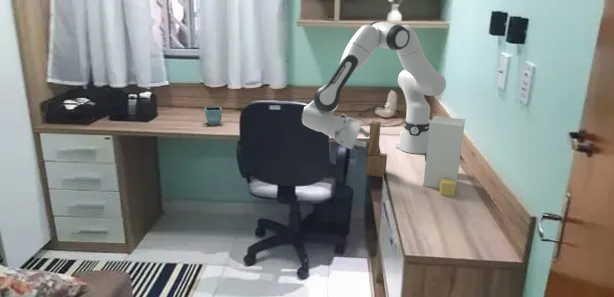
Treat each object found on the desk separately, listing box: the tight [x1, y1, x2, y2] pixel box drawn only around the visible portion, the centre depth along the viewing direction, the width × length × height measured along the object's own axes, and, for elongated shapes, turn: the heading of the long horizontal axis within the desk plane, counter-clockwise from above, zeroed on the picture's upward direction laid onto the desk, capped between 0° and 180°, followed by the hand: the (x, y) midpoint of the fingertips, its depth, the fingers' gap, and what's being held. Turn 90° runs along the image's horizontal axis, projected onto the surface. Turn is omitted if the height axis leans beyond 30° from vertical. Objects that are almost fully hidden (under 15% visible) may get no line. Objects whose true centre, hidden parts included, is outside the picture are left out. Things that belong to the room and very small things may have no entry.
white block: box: [423, 115, 466, 189], centre depth 198 cm, size 12×12×26 cm
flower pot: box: [204, 106, 223, 126], centre depth 279 cm, size 9×9×9 cm
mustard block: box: [438, 179, 457, 197], centre depth 191 cm, size 5×5×5 cm
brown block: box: [365, 120, 388, 178], centre depth 208 cm, size 7×22×7 cm
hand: (367, 140), depth 210 cm, fingers open, 8 cm apart
